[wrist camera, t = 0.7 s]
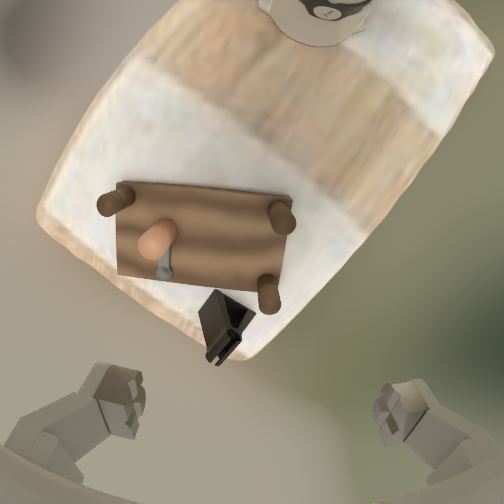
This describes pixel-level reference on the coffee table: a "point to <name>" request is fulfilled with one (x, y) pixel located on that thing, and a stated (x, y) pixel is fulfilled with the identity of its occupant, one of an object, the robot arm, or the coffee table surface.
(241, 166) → the coffee table surface
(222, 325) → the phone stand
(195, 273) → the stool base
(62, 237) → the coffee table surface
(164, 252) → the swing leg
